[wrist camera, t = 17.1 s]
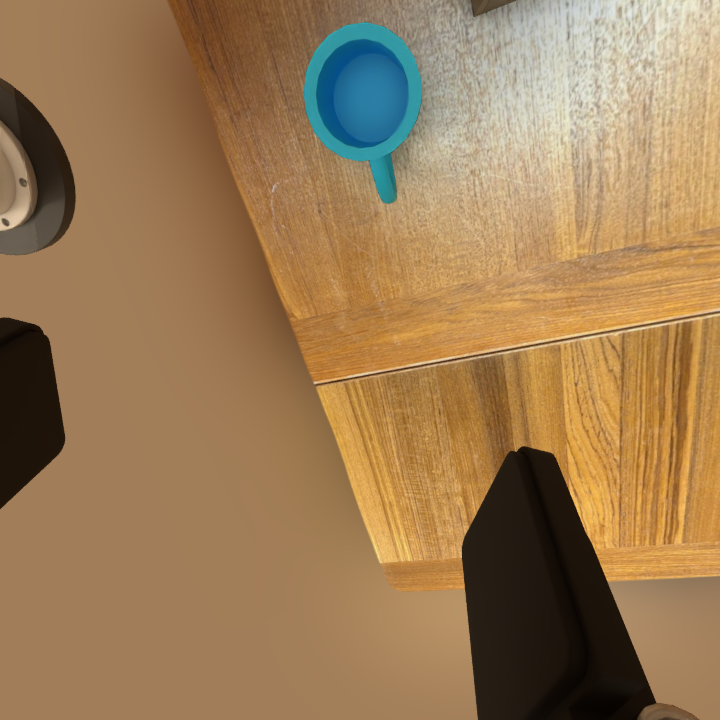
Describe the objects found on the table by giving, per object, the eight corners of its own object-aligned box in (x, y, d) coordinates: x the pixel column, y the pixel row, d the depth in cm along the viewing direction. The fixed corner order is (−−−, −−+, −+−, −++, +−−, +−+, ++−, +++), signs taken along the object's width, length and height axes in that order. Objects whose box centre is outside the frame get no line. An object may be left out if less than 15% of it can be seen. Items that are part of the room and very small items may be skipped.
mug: (313, 59, 36) (287, 45, 29) (410, 26, 34) (408, 3, 27) (351, 206, 42) (337, 225, 34) (437, 184, 40) (441, 199, 33)
